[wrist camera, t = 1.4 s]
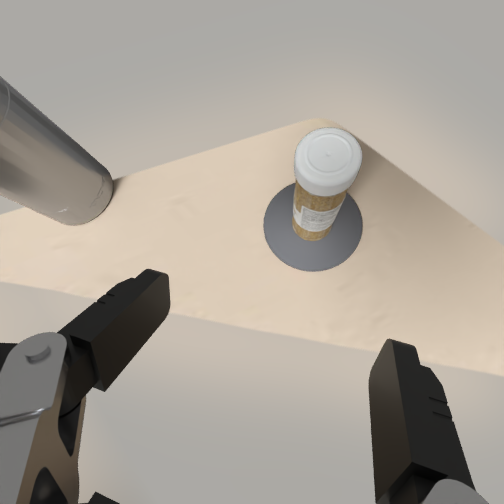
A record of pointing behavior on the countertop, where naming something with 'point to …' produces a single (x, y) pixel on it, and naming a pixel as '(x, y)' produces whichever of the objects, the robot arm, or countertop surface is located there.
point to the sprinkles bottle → (322, 179)
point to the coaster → (311, 252)
